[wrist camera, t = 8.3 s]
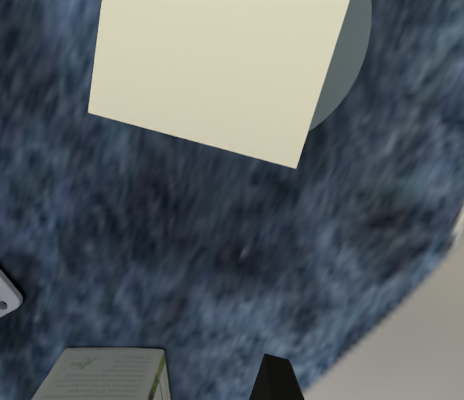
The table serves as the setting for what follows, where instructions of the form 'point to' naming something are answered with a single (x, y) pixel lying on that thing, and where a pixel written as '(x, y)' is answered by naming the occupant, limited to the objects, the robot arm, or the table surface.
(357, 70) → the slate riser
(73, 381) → the syrup box
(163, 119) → the cream block
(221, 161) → the table surface
